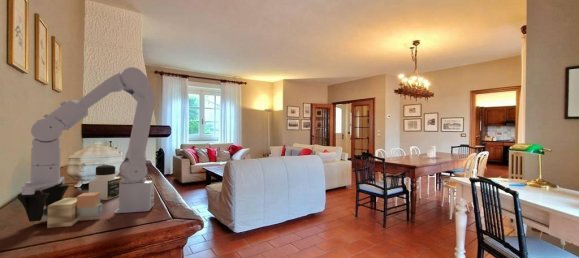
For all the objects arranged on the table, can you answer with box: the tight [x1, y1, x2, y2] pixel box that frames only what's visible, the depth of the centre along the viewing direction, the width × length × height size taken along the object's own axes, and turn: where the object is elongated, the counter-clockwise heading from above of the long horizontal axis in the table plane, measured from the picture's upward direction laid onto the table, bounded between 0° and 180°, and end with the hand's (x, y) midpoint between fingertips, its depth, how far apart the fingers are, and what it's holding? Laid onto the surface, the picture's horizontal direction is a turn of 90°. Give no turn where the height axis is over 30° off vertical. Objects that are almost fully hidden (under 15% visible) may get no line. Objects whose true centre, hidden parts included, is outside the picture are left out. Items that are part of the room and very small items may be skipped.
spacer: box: [76, 192, 101, 208], centre depth 71 cm, size 4×4×3 cm
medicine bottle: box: [88, 164, 122, 201], centre depth 96 cm, size 7×7×12 cm
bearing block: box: [46, 196, 83, 229], centre depth 70 cm, size 5×8×6 cm, turn 17°
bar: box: [31, 202, 103, 223], centre depth 70 cm, size 15×3×3 cm, turn 107°
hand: (44, 216), depth 68 cm, fingers open, 7 cm apart
